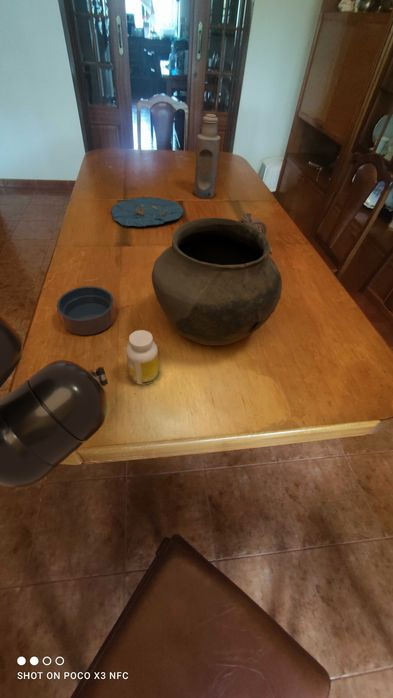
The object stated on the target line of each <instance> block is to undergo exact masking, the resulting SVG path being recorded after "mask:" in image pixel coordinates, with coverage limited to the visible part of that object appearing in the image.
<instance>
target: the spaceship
mask: <svg viewBox="0 0 393 698" xmlns="http://www.w3.org/2000/svg"><path fill="white" fill-rule="evenodd" d="M252 215H253V214H252V213H251V212H250V213H249V212H247V213H243V214H242V215H241V219H242V223H244V224H247V225H250V226H252V227H254V228H256V229H258V230H259V231H260V232H261V233H263V234H264V235H265V236H266V235H267V233H268V227H267V224H265V222H264V221H261V220H260V219H259V218H254V219H252V217H253V216H252ZM266 237H267V236H266ZM269 246H270V252H269V254H268V255H273V249H272V246H271V245H270V244H269Z"/></svg>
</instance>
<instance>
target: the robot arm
mask: <svg viewBox="0 0 393 698" xmlns="http://www.w3.org/2000/svg"><path fill="white" fill-rule="evenodd" d="M23 353H24V343H23V340H22V337H21V336H20V334H19V333H18V332H17V330H16V329H15V327H14V326H12V324H11V323H9V322H8V320H7V319H5V318H4V317H3V316H2V314H0V388H2V386H3V385H4V384H5V383H6V382H7V380H8V379H9V378H10V376H11V375H12V374H13V372H14V371H15V370H16V369H17V367H18V365H19V363H20V361H21V359H22V356H23ZM105 371H106V370H105V368H104V366H99V367H98V368H96V370H93V369H86V368H85V367H83V366H81V365H80V364H77V363H76V362H73V361H70V360H65V359H58V360H54V361H52V362H50V363H48V364H46V365H45V366H43V367H42V368H41V369H39V370H38V371H37V372H35V373H34V374H33V375H31V376H30V377H29V378H28V379H26V380H25V381H24V382H23V383H21V384H19V385H18V386H17V387H15V388H14V389H13V390H11V392H9V393H8V394H6V395H5V396H4V397H2V398H1V399H0V486H3V487H8V488H23V487H29V486H32V485H34V484H36V483H38V482H40V481H42V480H43V479H45V478H46V477H47V476H48V475H49V474H50V473H51V472H52V471H54V470H55V469H56V468H57V467H58V466H60V464H61V463H62V462H64V461H65V460H66V459H67V458H68V457H70V456H71V455H72V454H73V453H74V452H75V451H76V450H77V449H80V447H81V446H82V445H84V444H85V442H87V441H88V440H89V439H90V438H92V437H93V436H94V435H96V433H97V432H98V431H99V430H100V429H101V428H102V427H103V425H104V424H105V423H106V421H107V419H108V417H109V414H110V400H109V397H108V394H107V392H106V390H105V388H104V387H106V386H107V385H108V384H109V382H108V378H107V374H106V372H105Z"/></svg>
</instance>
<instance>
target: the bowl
mask: <svg viewBox="0 0 393 698" xmlns="http://www.w3.org/2000/svg"><path fill="white" fill-rule="evenodd" d="M56 310H57V313H58V316H59V319H60V323H61V325H62V327H63V328H64V329H65V330H66V331H68V332H70V333H72V334H74V335H78V336H92V335H93V336H94V335H97V334H100V333H102V332H105V331H106V330H107V329H108V328H110V327H111V326H112V325H114V322H115V320H116V319H117V310H116V303H115V298H114V296H113V294H112V293H111V292H110V291H109V290H107V289H105V288H103V287H100V286H94V285H89V286H88V285H85V286H79V287H75V288H72V289H70V290H68V291H66V292H64V294H62V295H61V296H60V297H59V298H58V300H57V302H56Z"/></svg>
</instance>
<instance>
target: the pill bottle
mask: <svg viewBox="0 0 393 698" xmlns="http://www.w3.org/2000/svg"><path fill="white" fill-rule="evenodd" d="M125 353H126V360H127V361H126V362H127V367H128V373H129V377H130V379H131V380H132V381H133V382H134V383H136V384H138V385H149V384H152V383H153V382H155V381H156V380H157V378H158V376H159V373H160V371H159V369H160V368H159V350H158V345H157V343H156V342H155V341H154V339H153V334H152V333H151V332H150V331H148V330H145V329H138V330H135V331H132V333H130V334H129V337H128V344H127V345H126V349H125Z"/></svg>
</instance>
